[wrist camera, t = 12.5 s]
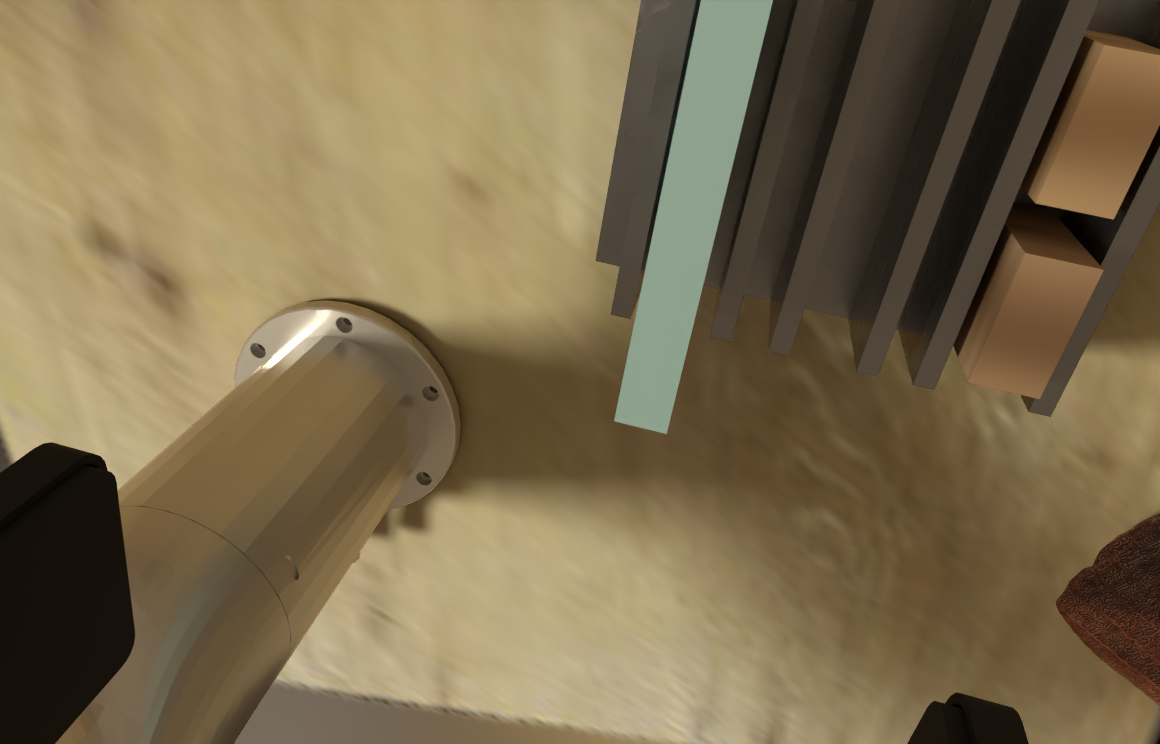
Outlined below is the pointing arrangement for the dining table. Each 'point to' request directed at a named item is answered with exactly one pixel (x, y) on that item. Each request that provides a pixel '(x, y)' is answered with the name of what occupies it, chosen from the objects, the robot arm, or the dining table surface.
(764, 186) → the rack
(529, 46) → the dining table surface
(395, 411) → the robot arm
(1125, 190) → the short walnut offcut
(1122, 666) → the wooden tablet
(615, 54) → the dining table surface
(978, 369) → the tall walnut offcut
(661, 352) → the teal sheet
